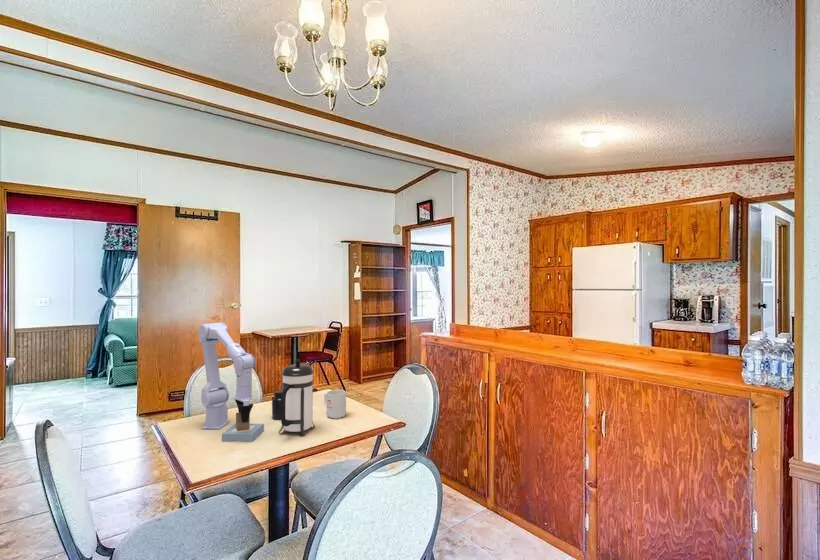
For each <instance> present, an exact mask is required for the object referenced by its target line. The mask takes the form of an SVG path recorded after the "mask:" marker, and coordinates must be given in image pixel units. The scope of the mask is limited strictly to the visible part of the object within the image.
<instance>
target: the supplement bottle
mask: <svg viewBox="0 0 820 560" xmlns="http://www.w3.org/2000/svg"><path fill="white" fill-rule="evenodd" d="M273 394H274V395H273V396H274V397H273V398H272V400H271V417H272V419H273V420H275V421H281V395H282V389H281V390H275V391H274V392H273Z"/></svg>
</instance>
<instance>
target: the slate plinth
mask: <svg viewBox="0 0 820 560" xmlns="http://www.w3.org/2000/svg"><path fill="white" fill-rule="evenodd" d="M264 431H265V424H264V423H251V422H250V425H249V430H242V431H237V429H236V422H235V423H234V424H233V425H231V426H230V427H229V428H227V429H226V430H225V431H223V432H222V433H221V442H227V441H228V442H229V441H240V443H241V441H242V443H244V441H245V443H248V442H249V443H253V442H254V441H255V440H256V439H257V438H258V437H259V436H260V435H261V434H262V433H263V432H264ZM253 440H254V441H253ZM251 441H252V442H251ZM228 442H227V443H228ZM229 443H230V442H229Z"/></svg>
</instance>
